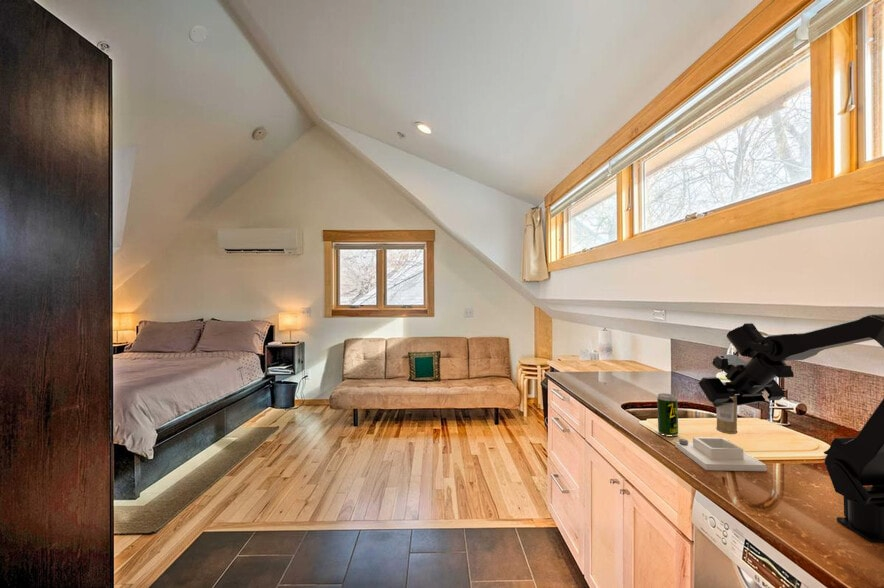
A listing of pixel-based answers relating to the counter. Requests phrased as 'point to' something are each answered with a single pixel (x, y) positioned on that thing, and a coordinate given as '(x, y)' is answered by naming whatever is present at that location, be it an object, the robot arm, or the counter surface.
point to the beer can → (667, 414)
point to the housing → (719, 454)
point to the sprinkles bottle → (727, 416)
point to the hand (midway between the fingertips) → (722, 405)
